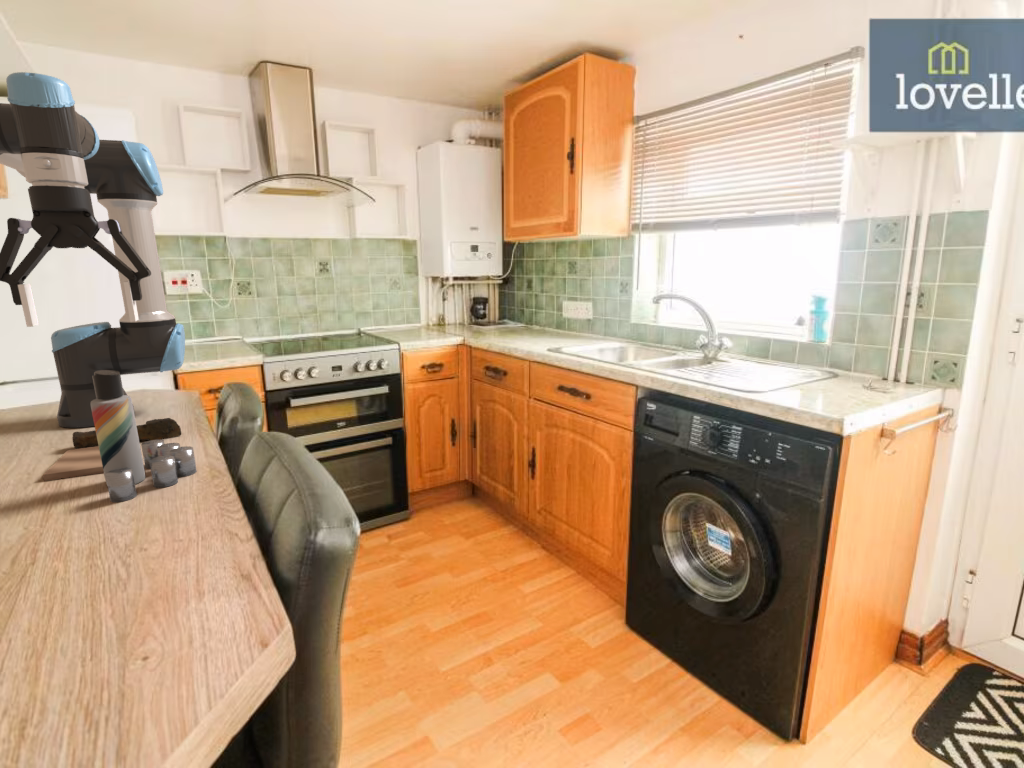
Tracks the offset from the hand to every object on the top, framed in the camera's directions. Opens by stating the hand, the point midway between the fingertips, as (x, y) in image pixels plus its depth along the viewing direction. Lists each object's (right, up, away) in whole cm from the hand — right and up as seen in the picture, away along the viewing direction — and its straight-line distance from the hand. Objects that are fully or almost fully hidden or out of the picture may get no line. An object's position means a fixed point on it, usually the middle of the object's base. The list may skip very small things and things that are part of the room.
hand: (85, 323), depth 89 cm
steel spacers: (+7, -27, +8) cm, 29 cm away
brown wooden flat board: (-11, -25, +16) cm, 32 cm away
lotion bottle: (+2, -27, +6) cm, 28 cm away
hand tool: (-12, -23, +28) cm, 38 cm away
